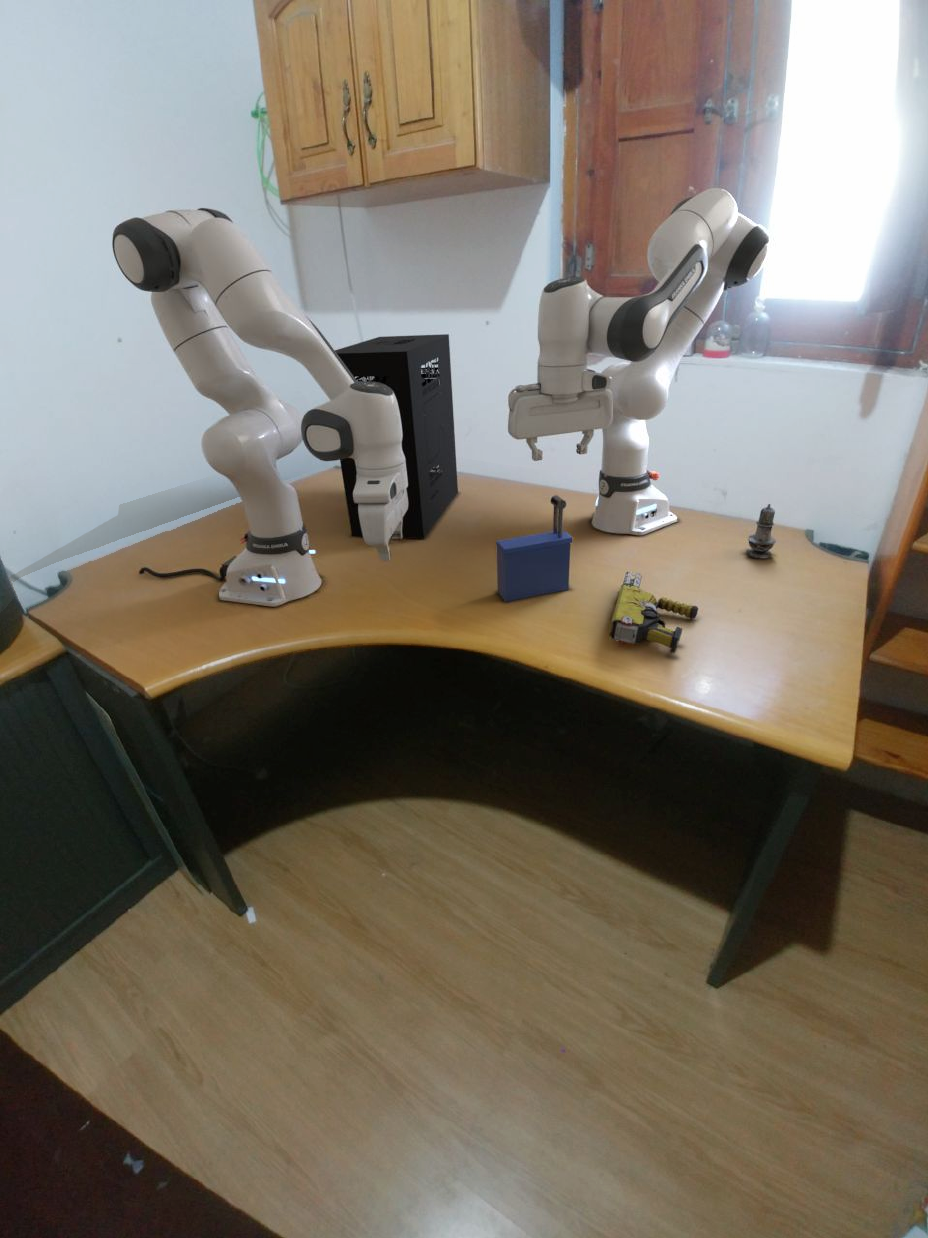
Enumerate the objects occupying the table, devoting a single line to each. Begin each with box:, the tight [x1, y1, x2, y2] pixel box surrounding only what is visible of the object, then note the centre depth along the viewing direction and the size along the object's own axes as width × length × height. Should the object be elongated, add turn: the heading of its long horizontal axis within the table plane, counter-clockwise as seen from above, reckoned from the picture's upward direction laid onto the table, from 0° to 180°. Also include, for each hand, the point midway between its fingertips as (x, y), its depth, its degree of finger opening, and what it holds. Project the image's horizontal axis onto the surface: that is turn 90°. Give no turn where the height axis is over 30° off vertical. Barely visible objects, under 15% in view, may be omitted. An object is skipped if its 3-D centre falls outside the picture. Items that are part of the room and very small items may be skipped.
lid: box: [495, 495, 573, 555], centre depth 122 cm, size 15×5×9 cm, turn 108°
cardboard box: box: [334, 333, 459, 540], centre depth 164 cm, size 38×20×45 cm, turn 167°
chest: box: [496, 543, 571, 603], centre depth 126 cm, size 14×5×11 cm, turn 108°
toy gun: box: [608, 570, 699, 654], centre depth 115 cm, size 5×24×15 cm
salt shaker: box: [746, 503, 777, 559], centre depth 136 cm, size 6×6×12 cm
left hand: (391, 549), depth 115 cm, fingers open, 8 cm apart
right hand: (559, 456), depth 116 cm, fingers open, 8 cm apart
